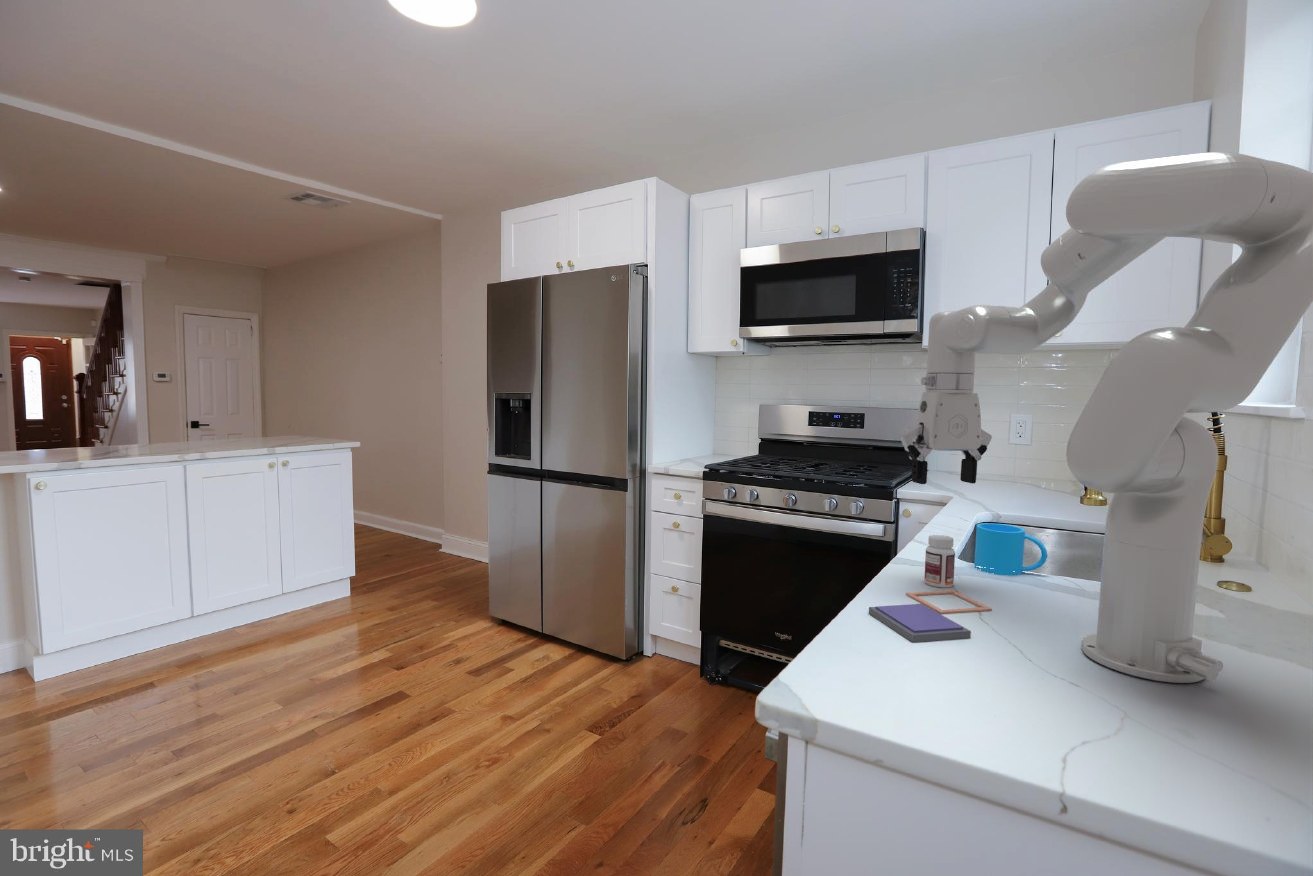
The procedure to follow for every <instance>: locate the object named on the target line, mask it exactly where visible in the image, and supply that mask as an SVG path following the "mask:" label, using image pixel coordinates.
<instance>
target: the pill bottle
mask: <svg viewBox="0 0 1313 876" xmlns="http://www.w3.org/2000/svg"><path fill="white" fill-rule="evenodd" d="M927 543H928V546H927V547H926V548H925V556H924V557H925V558H924V560H925V561H924V562H925V563H924V583H925V584H926V585H928V586H931V587H935V588H937V587H938V588H944V589H945V588H951V587H953V586H954V580H955V563H956V560H955V559H956V551H955V549H954V548H953V547H954V538H953V537H952V536H948V535H941V534H931V535H929V536H928V541H927Z"/></svg>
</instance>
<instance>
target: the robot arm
mask: <svg viewBox="0 0 1313 876" xmlns="http://www.w3.org/2000/svg"><path fill="white" fill-rule="evenodd" d="M1066 203H1067V204H1066V207H1065V217H1066V221H1067V223H1068V225H1069V228H1068V229H1067V230H1066V231H1065V232H1063V233H1062V234H1061V235H1060V236H1058V237H1057V238H1056V239H1054V241H1053V242H1051V243H1049V245H1048V246H1046V247H1045V249H1043V251H1042V253H1041V255H1040V265H1041V269H1042V272H1043V274H1044V277H1046V279H1047V280H1048V281H1049V283H1048V284H1047V285H1046V287H1045V288H1043V290H1041V292H1039V293H1038V294H1037V295H1035V297H1033V298H1031V299H1030V300H1029V301H1027V302H1026V303H1025V304H1023V305H1022V306H1019V307H1015V306H1004V305H990V304H987V305H986V304H976V305H971V306H968V307H965V308H964V307H963V308H961V309H959V310H947V311H939V312H937V313H934V314H932V316H931V317H930V319H929V323H928V341H927V359H926V360H927V361H926V374H925V377H924V376H923V377H921V378H920V384H921V385H922V386H925V387H924V388H925V391H923V392H921V393H922V394H921V397H920V400H919V404H918V410H917V415H916V422H915V426H913V427H911V428H910V429H908V430H907V431H904V432H902V433H901V434H900V436H899V439H900V441H901V444H902V446H903V450H904V451H905V452H906V454H907V455H908V458H909V459H910V460H911V477H912V479H911V481H912V482H913V483H915V484H919V485H926V484H927V481H928V480H927V479H928V465H929V463H928V461H927V460H925V459H926V458H927V457H928V456H929V455H930V453H931V452H932V451H939V452H940V451H941V452H944V451H945V452H948V451H949V452H950V451H951V452H952V451H953V452H954V451H955V452H957V451H959V452H961V454H962V455H963V457H964V458H962V459H961V464H960V465H961V466H960V481H961V482H962V483H969V484H976V482H977V475H978V473H977V471H978V461H981V459H982V456H983V455H984V454H985V453H986V452H987V450H988V446H989V445H990V443H991V441H992V439H993V436H992V435H991V434H990V433H989V432H987V431H985V430H983V428H982V422H981V421H982V417H981V405H980V397H979V395H978V394H979V393H978V392H977V393H976V392H974V387H975V386H974V385H975V371H976V358H977V356H976V354H1000V355H1001V354H1002V355H1020V354H1024V353H1027V352H1030V351H1032V350H1035V349H1036V348H1038V347H1040V346H1041V345H1043V344H1045V343H1046V342H1048V341H1049V340H1051V339H1052V338H1053V337H1055V336H1056V335H1058V334H1060V333H1061V332H1062V331H1064V330H1065V329H1066V328H1068V327H1069V326H1070V325H1071V324H1072V323H1073V322H1074V320H1075V319H1076V317H1077V316H1078V315H1079V313H1080V312H1081V310H1082V308H1083V307H1084V305H1085V303H1086V300H1087V297H1088V294H1089V293H1090V292H1091V291H1092V290H1094V289H1095V288H1098V286H1099V285H1101V284H1102V283H1104V282H1105V281H1107V280H1109V278H1110V277H1112V276H1113V275H1115V274H1116V273H1118V272H1120V270H1122V269H1123V268H1124V267H1126V266H1128V265H1129V264H1130V263H1132V262H1133V261H1134V260H1136V259H1137V258H1139V257H1140V256H1142V255H1143V254H1144V253H1146V252H1148V251H1149V250H1150V249H1151V248H1153V247H1154V246H1156V245H1157V244H1158V243H1160V242H1161V241H1163V240H1164V239H1165V238H1170V237H1171V238H1173V237H1174V238H1189V239H1190V238H1191V239H1198V240H1205V241H1210V242H1211V241H1212V242H1217V243H1224V244H1225V243H1227V244H1233V245H1237V246H1238V247H1240V249H1241V253H1240V255H1239V257H1238V258H1237V259H1236V260H1235V261H1234V262H1233V263H1231V264H1230V266H1228V267H1227V268H1226V269H1225V270H1224V271H1223V272H1222V273H1221V274H1220V275H1219V276H1218V277H1217V278H1216V279H1215V280H1214V282H1213V283H1212V284H1211V286H1210V287H1209V289H1208V290H1207V292H1206V293H1205V295H1204V297H1203V299H1202V301H1201V302H1200V304H1199V306H1198V307H1197V309H1196V310H1195V311H1194V313H1193V315H1192V316H1191V318H1190V319H1189V321H1188V322H1187V323H1186V324H1185V326H1184V327H1180V326H1178V327H1177V326H1168V327H1167V326H1165V327H1160V328H1155V329H1150V330H1148V331H1145V332H1142V333H1140V334H1139V335H1136V336H1135V337H1133V338H1131V339H1130V340H1129V341H1128V342H1126V343H1125V344H1124V345H1123V346H1122V347H1121V348H1120V349H1119V350H1117V352H1116V353H1115V355H1113V357H1112V358H1111V360H1110V361H1109V363H1108V365H1107V366H1106V368H1105V370H1104V371H1103V373H1102V375H1101V377H1100V379H1099V381H1098V382H1097V384H1096V386H1095V388H1094V389H1093V392H1092V393H1091V395H1090V397H1089V398H1088V400H1087V403H1086V404H1085V406H1084V408H1083V410H1082V411H1081V413H1080V415H1079V417H1078V419H1077V421H1076V422H1075V424H1074V426H1073V428H1072V429H1071V433H1070V435H1069V438H1068V441H1067V445H1066V462H1067V466H1068V469H1069V471H1070V473H1071V474H1072V476H1073V477H1074V478H1075V480H1076V481H1078V482H1079V483H1080V484H1081V485H1083V486H1084V487H1086V488H1088V489H1090V490H1093V491H1096V492H1101V493H1107V494H1110V493H1111V494H1113V496H1112V498H1111V501H1110V503H1109V506H1108V509H1107V514H1106V519H1105V526H1104V537H1103V551H1102V561H1101V562H1102V563H1101V573H1100V574H1101V575H1100V576H1101V577H1100V589H1099V599H1098V600H1099V602H1098V613H1097V625H1096V626H1097V627H1096V633H1094V634H1089V635H1087V636H1085V637H1083V638H1082V640H1081V648H1080V649H1081V650H1082V652H1083V653H1084V654H1085V655H1086V656H1087V657H1088V658H1090V659H1091V660H1092V661H1095V662H1096V663H1098V664H1100V665H1102V666H1104V667H1106V668H1109V669H1112V670H1114V671H1118V672H1120V673H1123V674H1127V675H1130V676H1133V677H1136V678H1137V677H1139V678H1141V679H1147V680H1151V681H1157V682H1163V683H1174V684H1175V683H1176V684H1191V683H1197V682H1200V681H1203V680H1206V681H1210V682H1214V681H1215V680H1216V679H1217V678H1218V677H1219V674H1220V672H1221V671H1222V670H1223V668H1224V663H1223V661H1221V660H1218V659H1217V658H1214V657H1211V656H1207V655H1204V654H1203V652H1202V647H1203V646H1202V645H1203V640H1200V639H1198V638H1195V637H1194V635H1193V634H1194V626H1195V625H1194V624H1195V614H1196V603H1197V602H1196V601H1197V591H1198V581H1199V579H1198V578H1199V569H1200V557H1201V549H1202V541H1203V532H1204V530H1203V529H1204V522H1205V516H1206V515H1205V514H1206V508H1207V505H1208V500H1209V497H1210V494H1211V490H1212V487H1213V485H1214V482H1215V481H1214V480H1215V479H1216V474H1217V469H1218V464H1219V463H1218V462H1219V451H1218V446H1217V443H1216V440H1215V438H1214V437H1213V435H1212V434H1211V432H1210V431H1209V430H1208V429H1207V428H1206V427H1205V426H1204V425H1202V424H1201V423H1199V422H1198V421H1196V420H1194V419H1191V418H1190V417H1186V416H1184V415H1186V414H1189V413H1191V414H1192V413H1194V414H1195V413H1218V412H1223V411H1228V410H1231V409H1233V408H1235V407H1236V406H1239V405H1240V404H1242V403H1243V402H1245V401H1246V400H1247V398H1248V397H1249V396H1250V395H1251V394H1252V393H1253V392H1254V391H1255V388H1256V387H1257V386H1258V384H1259V383H1260V382H1261V380H1262V379H1263V377H1264V375H1265V374H1266V372H1267V370H1268V369H1269V368H1270V366H1271V365H1272V363H1273V362H1274V360H1275V359H1276V357H1277V356H1278V354H1279V353H1280V351H1281V350H1282V349H1283V347H1284V346H1285V344H1286V342H1287V341H1288V340H1289V338H1290V337H1291V335H1292V334H1293V332H1294V331H1295V329H1296V328H1297V326H1298V324H1299V322H1300V321H1301V319H1302V318H1303V316H1304V315H1305V313H1306V312H1307V310H1308V309H1309V308H1310V306H1311V305H1312V303H1313V172H1311V171H1309V170H1307V169H1304V168H1301V167H1298V166H1295V165H1291V164H1288V163H1283V162H1281V161H1280V162H1279V161H1276V160H1275V161H1274V160H1269V159H1264V158H1260V157H1255V156H1251V155H1248V154H1242V153H1238V152H1229V151H1209V152H1198V153H1189V154H1181V155H1174V156H1173V155H1172V156H1167V157H1157V158H1147V159H1138V160H1132V161H1131V160H1130V161H1122V162H1115V163H1111V164H1108V165H1105V166H1102V167H1100V168H1097V169H1096V170H1094V171H1092V172H1091V173H1089V174H1088V175H1087V176H1085V177H1084V178H1083V179H1081V180H1080V182H1079V183H1077V185H1076V186H1075V188H1073V190H1072V191H1071V192H1070V195H1069V197H1068V200H1067V202H1066ZM913 439H914V440H915V441H914V442H915V445H914V444H913V443H914V442H913Z"/></svg>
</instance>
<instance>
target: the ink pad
mask: <svg viewBox="0 0 1313 876" xmlns="http://www.w3.org/2000/svg"><path fill="white" fill-rule="evenodd" d="M868 614H869V615H870V616H871V617H873V618H874V619H876V620H878V621H879V622H880V623H882V624H884V625H886V626H887V627H889V628H890V629H892V630H893V631H894V632H896V633H898V634H899V635H900V636H902V637H904V638H905V639H907V640H909V642H911V643H922V642H935V641H948V640H949V641H950V640H963V639H971V635H972V631H971V630H970V629H968V628H966V627H965V626H963V625H961V624H959V623H958V622H955V621H953V620H951V619H950V618H948V617H946V616H944V614H940V613H938V612H936V611H934V610H933V609H931V608H929V607H927V606H925V605H923V604H922V603H912V604H911V603H909V604H898V605H897V604H896V605H893V604H892V605H882V606H881V605H879V606H869V607H868Z"/></svg>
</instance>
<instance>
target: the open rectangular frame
mask: <svg viewBox="0 0 1313 876" xmlns="http://www.w3.org/2000/svg"><path fill="white" fill-rule="evenodd" d="M941 595H953V596H955V597H958V598H959V599H961V600H964V601H966V602H968V603H970V604H973V605H974V606H976V607H969V608H967V607H966V608H965V607H964V608H953V609H941V608H939V607H937V606H936V605H933V604H932V603H930V602H928V601H926V600H924V599H923V598H920V596H941ZM905 596H907V597H909V598H910V599H913V600H914V601H916V602H918V603H919V604H923V605H924V606H926V607H928V608H930V609H932V610H934V611H935V612H937V613H939V614H941V615H944V614H945V615H947V614H959V613H961V614H963V613H974V612H975V613H977V612H978V613H979V612H990V611H992V610H993V608H991V607H989V606H987V605H985V604H983V603H981V602H979V601H976V600H974V599H972V598H970V597H968V596H966V595H964V594H962V593H960V592H957V591H956V590H951V589H950V590H939V591H938V590H935V591H921V592H920V591H919V592H918V591H917V592H905Z"/></svg>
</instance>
